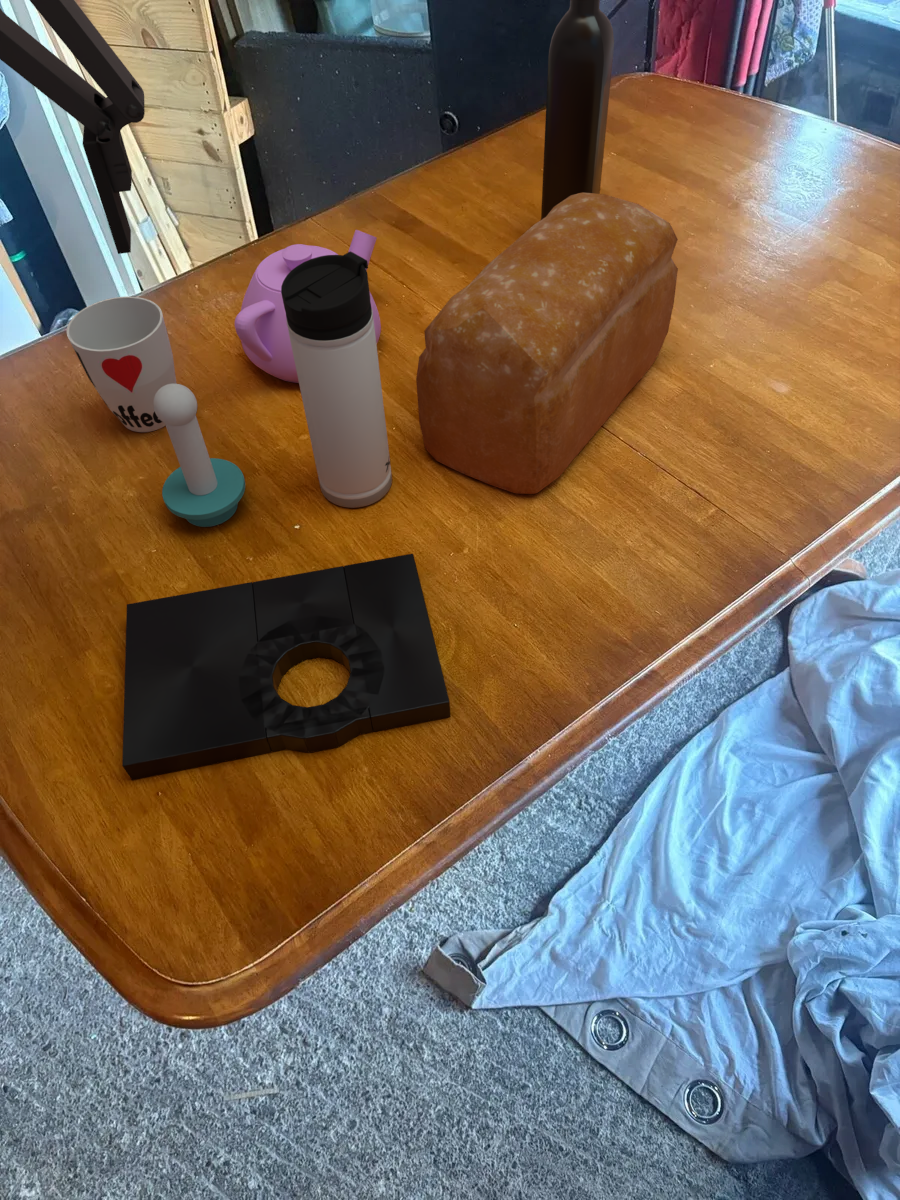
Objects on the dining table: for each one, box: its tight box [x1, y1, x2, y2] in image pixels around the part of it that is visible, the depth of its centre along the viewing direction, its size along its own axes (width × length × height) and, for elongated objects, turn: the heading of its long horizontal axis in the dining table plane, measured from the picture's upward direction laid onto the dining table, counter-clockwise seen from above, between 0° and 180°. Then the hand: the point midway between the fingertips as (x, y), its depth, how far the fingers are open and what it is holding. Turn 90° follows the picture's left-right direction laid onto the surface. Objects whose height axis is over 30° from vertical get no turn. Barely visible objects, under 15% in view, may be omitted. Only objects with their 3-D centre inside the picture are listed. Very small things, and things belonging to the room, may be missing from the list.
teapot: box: [234, 229, 382, 384], centre depth 86 cm, size 14×20×11 cm
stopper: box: [153, 383, 246, 528], centre depth 71 cm, size 7×7×13 cm
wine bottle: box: [540, 0, 615, 220], centre depth 90 cm, size 6×6×30 cm
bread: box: [415, 193, 679, 494], centre depth 78 cm, size 14×26×16 cm, turn 147°
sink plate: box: [121, 553, 451, 781], centre depth 64 cm, size 22×15×2 cm, turn 102°
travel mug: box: [281, 251, 393, 509], centre depth 70 cm, size 6×7×20 cm
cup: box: [66, 296, 177, 433], centre depth 80 cm, size 8×8×10 cm
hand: (10, 256), depth 54 cm, fingers open, 13 cm apart
